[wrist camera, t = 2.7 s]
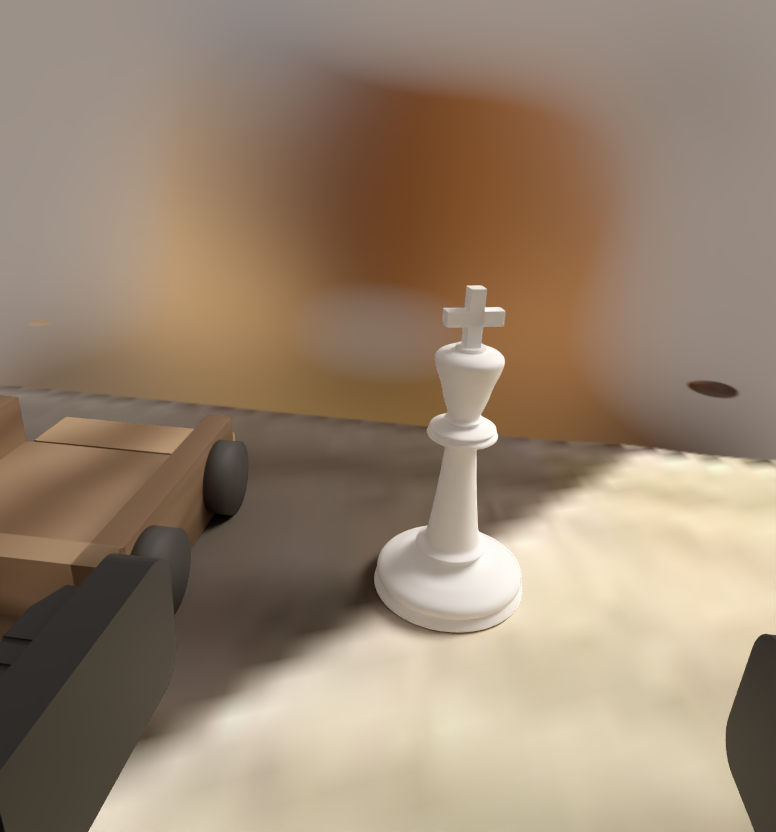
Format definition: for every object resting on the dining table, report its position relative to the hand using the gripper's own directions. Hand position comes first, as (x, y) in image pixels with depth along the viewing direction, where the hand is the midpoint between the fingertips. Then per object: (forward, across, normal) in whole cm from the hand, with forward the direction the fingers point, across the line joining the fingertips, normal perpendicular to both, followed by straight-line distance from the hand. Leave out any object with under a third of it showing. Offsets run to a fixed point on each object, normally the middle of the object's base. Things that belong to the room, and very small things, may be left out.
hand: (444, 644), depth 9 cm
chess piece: (+11, 0, +8) cm, 14 cm away
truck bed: (+13, +14, +7) cm, 20 cm away
